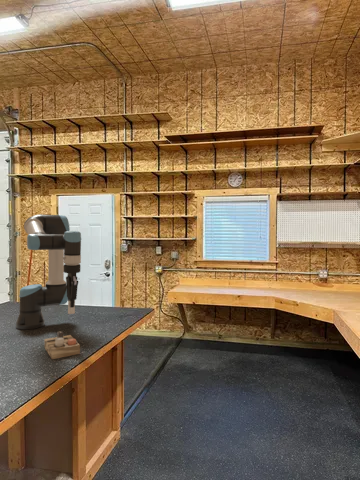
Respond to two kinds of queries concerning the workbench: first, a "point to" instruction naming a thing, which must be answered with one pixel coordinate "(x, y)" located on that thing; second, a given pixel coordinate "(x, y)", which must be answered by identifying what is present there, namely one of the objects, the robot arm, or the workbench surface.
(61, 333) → the fader knob
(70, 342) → the button
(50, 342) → the console
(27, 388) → the workbench surface
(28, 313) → the robot arm
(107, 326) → the workbench surface
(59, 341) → the button
